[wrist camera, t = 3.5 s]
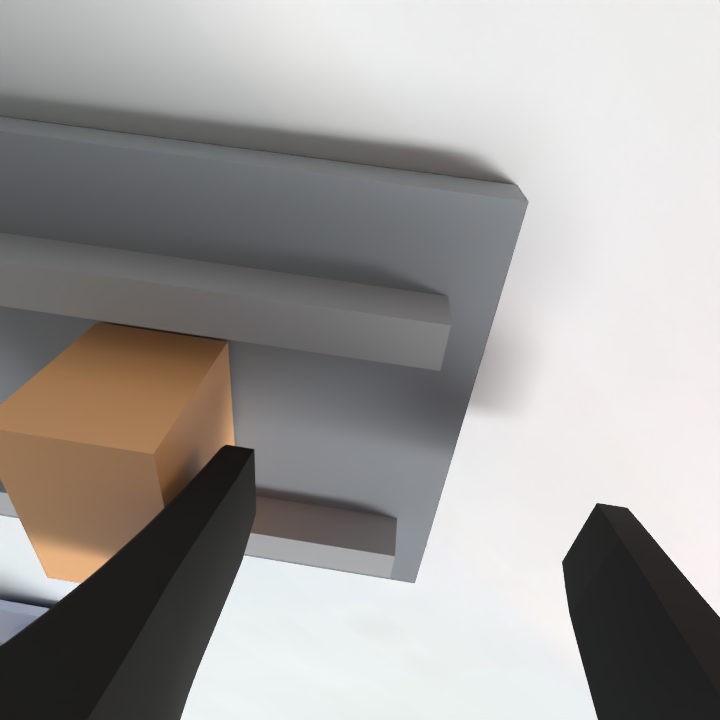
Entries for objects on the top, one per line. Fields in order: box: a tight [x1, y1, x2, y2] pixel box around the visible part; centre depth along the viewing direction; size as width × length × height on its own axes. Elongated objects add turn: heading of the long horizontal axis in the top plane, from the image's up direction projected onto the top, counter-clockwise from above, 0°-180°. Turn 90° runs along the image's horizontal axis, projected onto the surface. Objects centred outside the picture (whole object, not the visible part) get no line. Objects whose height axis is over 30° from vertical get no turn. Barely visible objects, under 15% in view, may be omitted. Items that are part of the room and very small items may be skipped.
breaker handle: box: [0, 322, 235, 583], centre depth 10 cm, size 4×3×4 cm
